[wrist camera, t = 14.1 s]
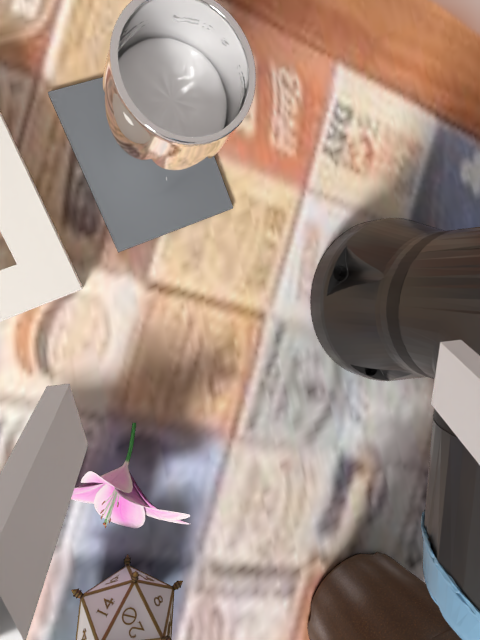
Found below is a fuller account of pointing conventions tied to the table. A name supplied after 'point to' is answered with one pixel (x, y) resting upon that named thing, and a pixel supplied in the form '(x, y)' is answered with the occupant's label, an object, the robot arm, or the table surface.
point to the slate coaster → (115, 199)
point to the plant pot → (375, 604)
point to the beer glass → (173, 89)
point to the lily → (121, 496)
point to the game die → (126, 607)
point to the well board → (28, 239)
